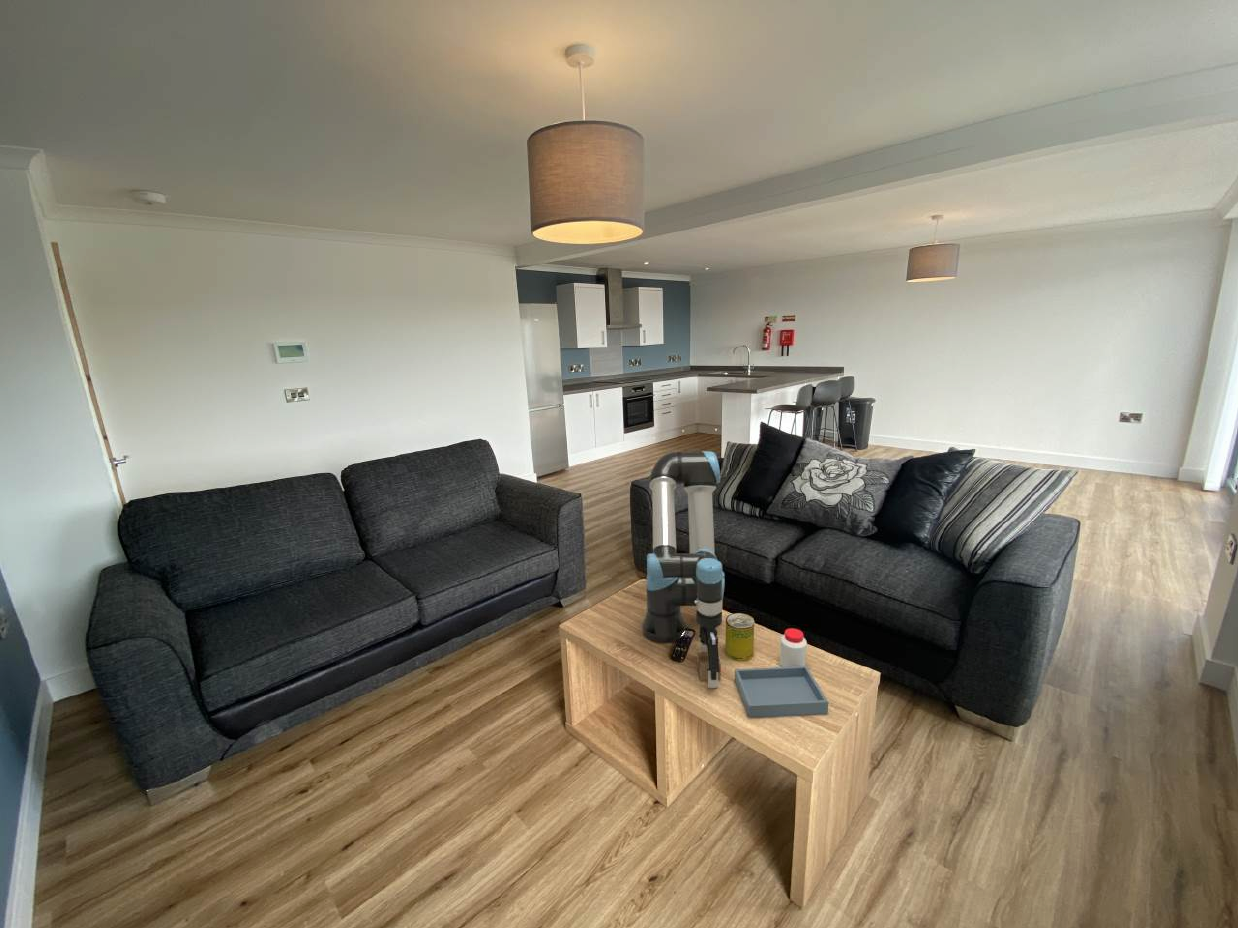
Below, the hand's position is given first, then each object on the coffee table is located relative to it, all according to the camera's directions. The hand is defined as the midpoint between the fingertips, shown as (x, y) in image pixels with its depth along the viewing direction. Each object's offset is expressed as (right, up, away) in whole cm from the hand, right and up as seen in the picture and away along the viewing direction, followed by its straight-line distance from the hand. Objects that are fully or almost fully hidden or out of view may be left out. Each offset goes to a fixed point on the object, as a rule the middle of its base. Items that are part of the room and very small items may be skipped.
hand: (708, 674), depth 156 cm
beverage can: (+12, +3, +10) cm, 16 cm away
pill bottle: (+27, +2, +4) cm, 27 cm away
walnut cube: (0, 0, 0) cm, 0 cm away
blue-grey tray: (+18, -2, -10) cm, 21 cm away
